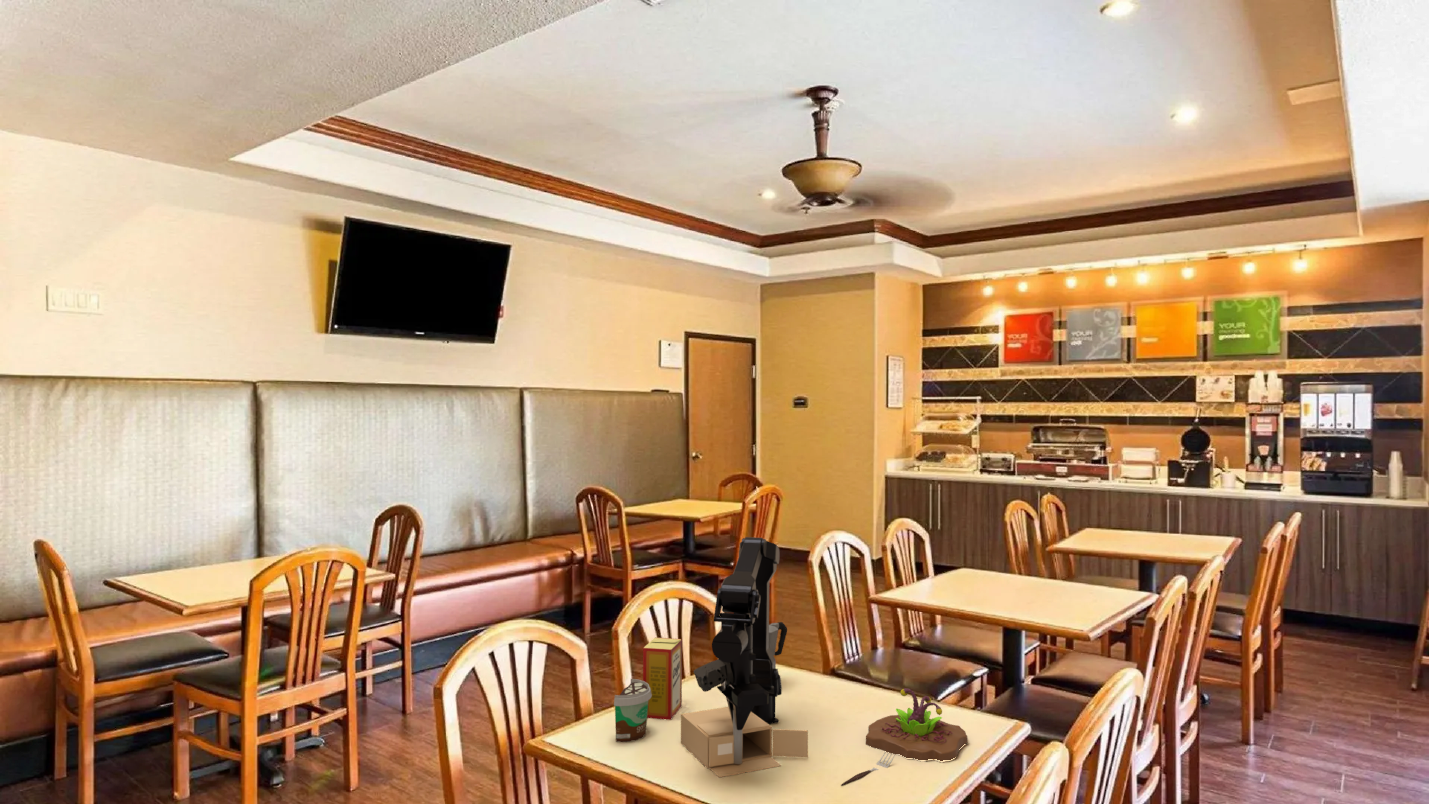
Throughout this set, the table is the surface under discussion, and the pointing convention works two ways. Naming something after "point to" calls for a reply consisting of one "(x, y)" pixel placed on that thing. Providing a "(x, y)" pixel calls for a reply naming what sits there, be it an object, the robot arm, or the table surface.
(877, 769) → the fork
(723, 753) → the flap
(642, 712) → the food container
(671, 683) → the baking soda box
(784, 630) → the coffeepot
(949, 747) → the plant
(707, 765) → the carton
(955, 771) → the table surface
